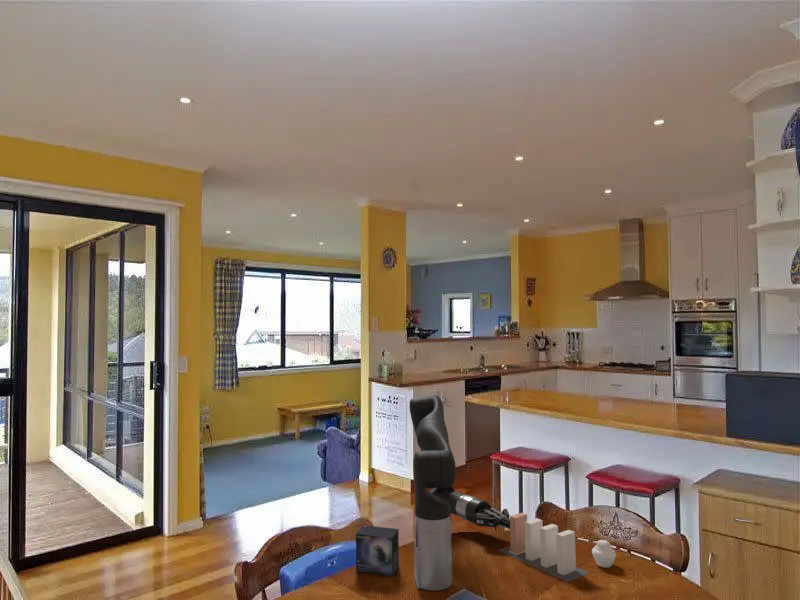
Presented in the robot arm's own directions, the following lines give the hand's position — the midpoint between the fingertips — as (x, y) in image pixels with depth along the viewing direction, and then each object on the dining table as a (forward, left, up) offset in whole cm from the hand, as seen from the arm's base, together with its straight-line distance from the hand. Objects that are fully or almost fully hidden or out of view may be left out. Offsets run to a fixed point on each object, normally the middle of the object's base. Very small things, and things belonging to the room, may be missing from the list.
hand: (513, 525), depth 161 cm
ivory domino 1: (+4, -7, -7) cm, 10 cm away
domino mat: (+5, -9, -7) cm, 12 cm away
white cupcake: (+21, -13, -7) cm, 26 cm away
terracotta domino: (+1, -2, -7) cm, 7 cm away
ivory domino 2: (+7, -11, -7) cm, 15 cm away
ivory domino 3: (+9, -16, -7) cm, 20 cm away
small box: (-40, -9, -7) cm, 42 cm away
